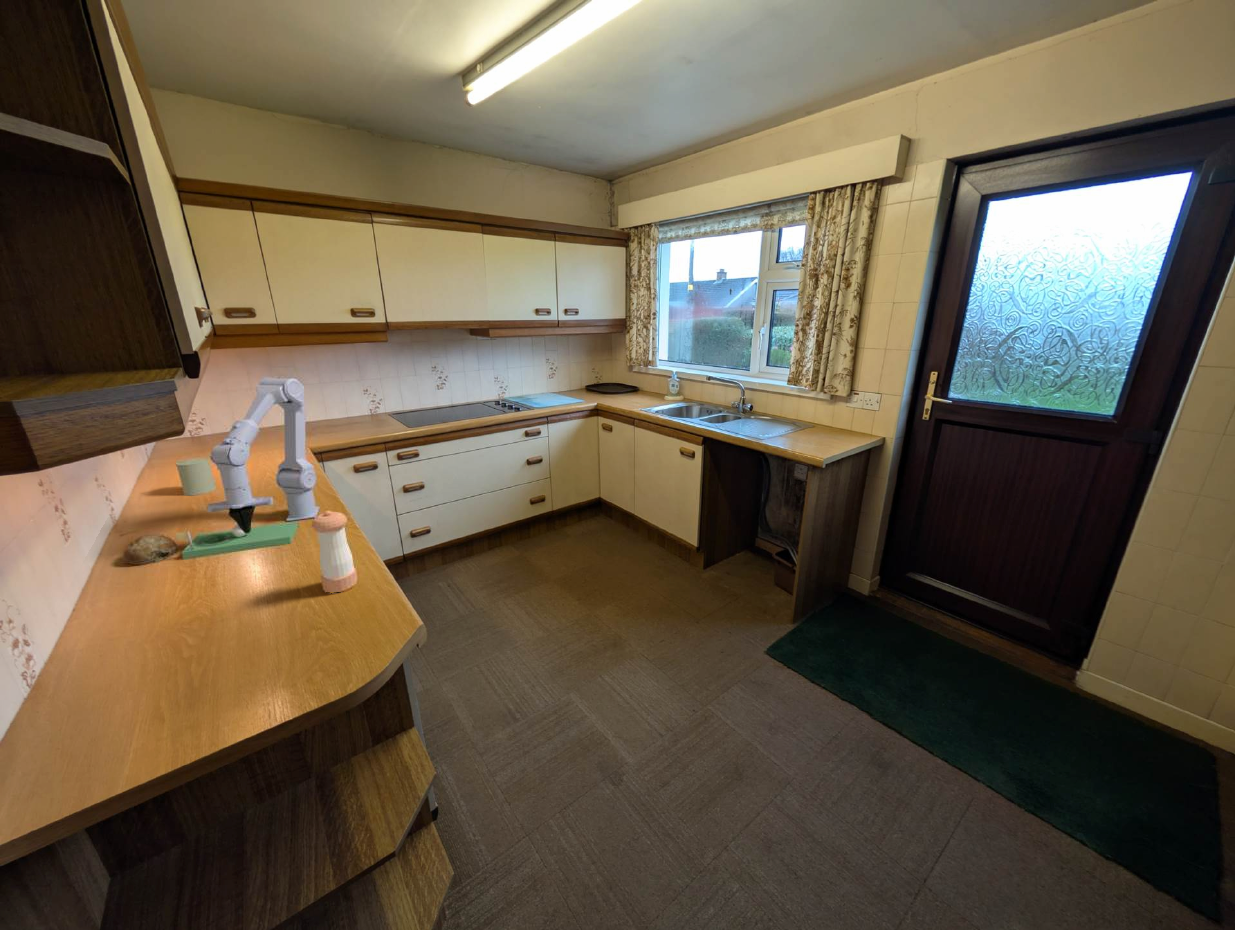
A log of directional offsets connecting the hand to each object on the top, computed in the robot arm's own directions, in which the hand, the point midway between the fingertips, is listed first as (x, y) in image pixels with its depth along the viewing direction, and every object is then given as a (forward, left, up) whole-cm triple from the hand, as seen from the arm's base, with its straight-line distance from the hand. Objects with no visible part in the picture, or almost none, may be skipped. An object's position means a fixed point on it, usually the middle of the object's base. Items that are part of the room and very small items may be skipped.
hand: (247, 531), depth 135 cm
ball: (0, -2, +2) cm, 3 cm away
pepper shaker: (+37, +26, -3) cm, 45 cm away
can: (-57, -27, -3) cm, 64 cm away
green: (0, -1, -3) cm, 3 cm away
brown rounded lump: (0, -21, -4) cm, 22 cm away
